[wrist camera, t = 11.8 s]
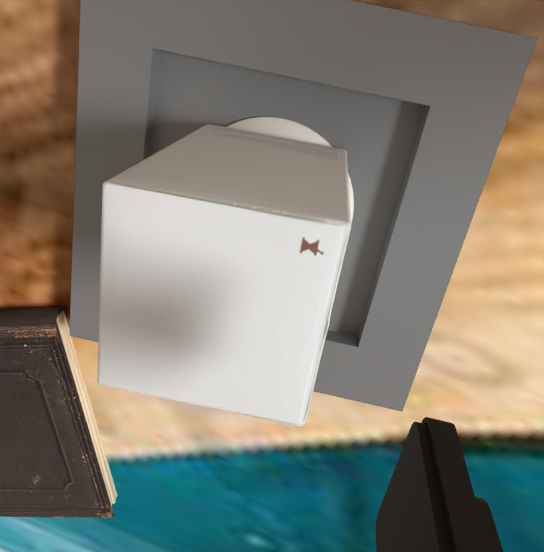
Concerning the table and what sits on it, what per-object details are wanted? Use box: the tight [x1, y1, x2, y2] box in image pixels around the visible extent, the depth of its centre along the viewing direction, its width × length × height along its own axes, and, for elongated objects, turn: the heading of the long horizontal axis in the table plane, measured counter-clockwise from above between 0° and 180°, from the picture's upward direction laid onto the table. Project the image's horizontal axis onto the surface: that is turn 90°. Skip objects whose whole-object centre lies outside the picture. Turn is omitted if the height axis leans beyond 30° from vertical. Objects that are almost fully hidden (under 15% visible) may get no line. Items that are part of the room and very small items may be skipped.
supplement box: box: [98, 124, 351, 427], centre depth 21 cm, size 7×7×13 cm
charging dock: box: [70, 0, 537, 411], centre depth 27 cm, size 20×20×2 cm
